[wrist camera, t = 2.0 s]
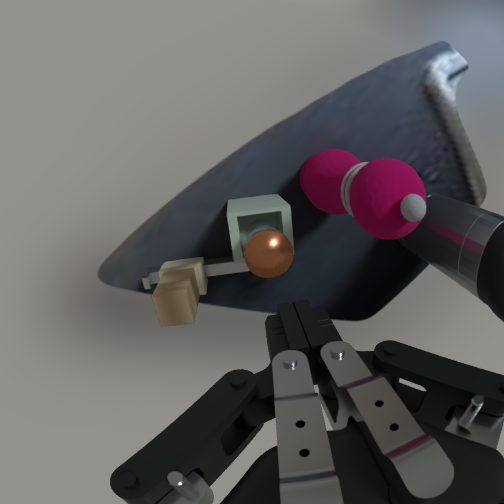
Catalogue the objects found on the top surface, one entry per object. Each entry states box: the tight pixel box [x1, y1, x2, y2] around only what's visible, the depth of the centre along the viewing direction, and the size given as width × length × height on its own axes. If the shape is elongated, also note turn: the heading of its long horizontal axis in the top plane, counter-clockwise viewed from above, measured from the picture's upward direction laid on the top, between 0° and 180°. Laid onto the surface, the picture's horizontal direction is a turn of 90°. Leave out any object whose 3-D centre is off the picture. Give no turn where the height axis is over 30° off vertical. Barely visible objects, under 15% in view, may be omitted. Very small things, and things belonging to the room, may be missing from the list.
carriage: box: [151, 257, 208, 326], centre depth 30 cm, size 5×4×10 cm
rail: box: [142, 256, 287, 289], centre depth 34 cm, size 18×2×4 cm, turn 97°
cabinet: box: [227, 194, 294, 263], centre depth 31 cm, size 6×5×8 cm
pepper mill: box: [299, 149, 426, 240], centre depth 24 cm, size 7×7×20 cm
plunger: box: [244, 219, 293, 278], centre depth 24 cm, size 4×4×6 cm
